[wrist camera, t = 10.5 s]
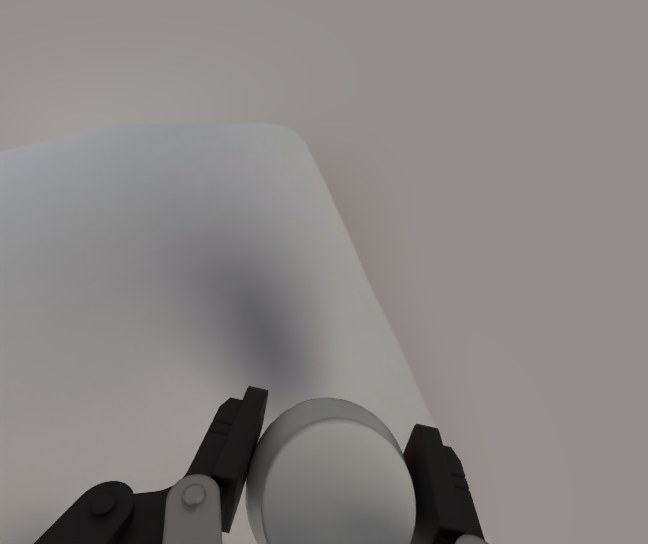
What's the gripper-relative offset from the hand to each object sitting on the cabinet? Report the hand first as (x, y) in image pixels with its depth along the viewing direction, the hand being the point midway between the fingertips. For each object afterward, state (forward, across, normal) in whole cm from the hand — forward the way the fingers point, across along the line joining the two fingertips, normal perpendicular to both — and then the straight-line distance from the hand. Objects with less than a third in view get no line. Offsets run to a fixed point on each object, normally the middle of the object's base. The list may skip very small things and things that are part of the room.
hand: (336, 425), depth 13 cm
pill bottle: (+3, 0, +6) cm, 7 cm away
